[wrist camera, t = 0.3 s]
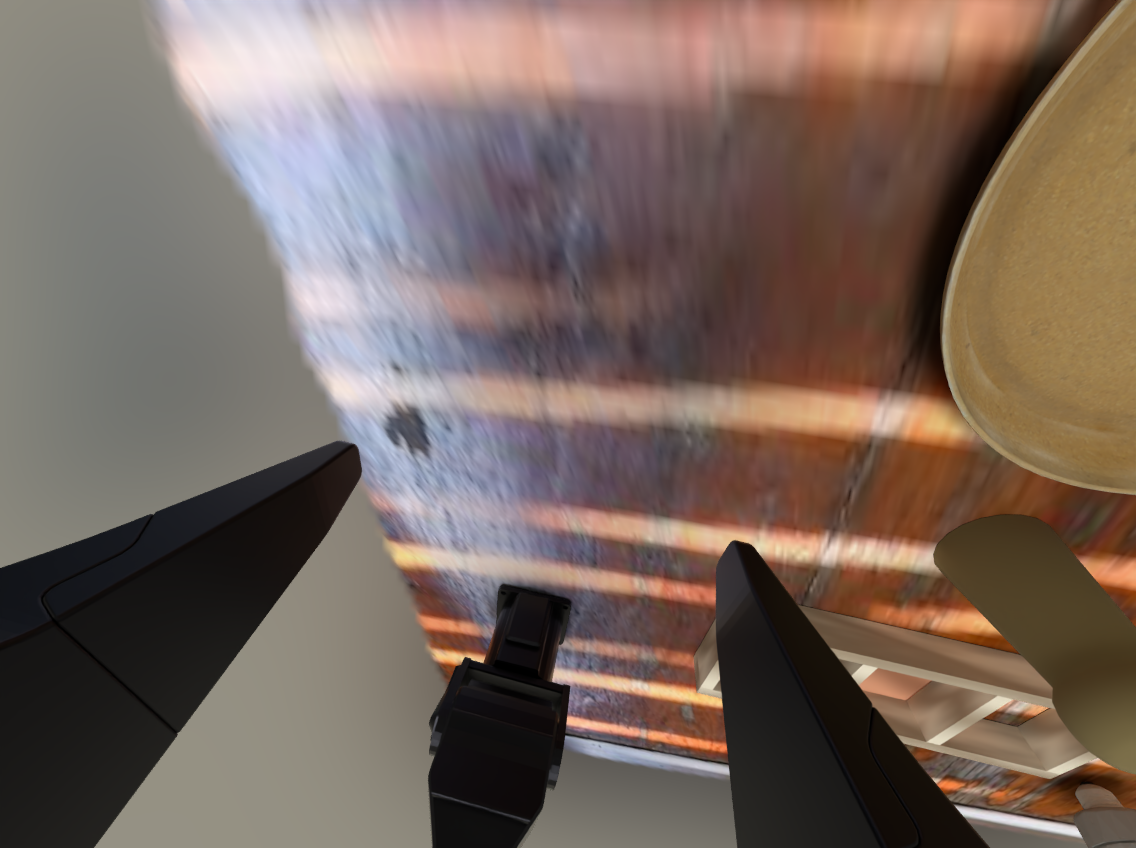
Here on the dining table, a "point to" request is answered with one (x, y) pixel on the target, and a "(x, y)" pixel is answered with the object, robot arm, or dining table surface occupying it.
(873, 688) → the rack
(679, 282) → the dining table surface
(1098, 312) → the plant saucer
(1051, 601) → the olive chess pawn
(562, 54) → the dining table surface
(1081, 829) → the light bulb
